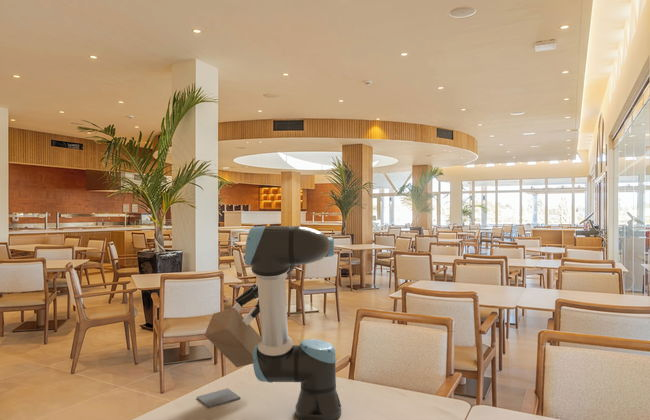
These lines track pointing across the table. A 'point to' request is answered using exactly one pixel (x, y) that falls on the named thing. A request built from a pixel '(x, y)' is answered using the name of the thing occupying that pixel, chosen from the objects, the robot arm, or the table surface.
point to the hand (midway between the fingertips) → (236, 320)
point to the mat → (218, 398)
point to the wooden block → (233, 336)
